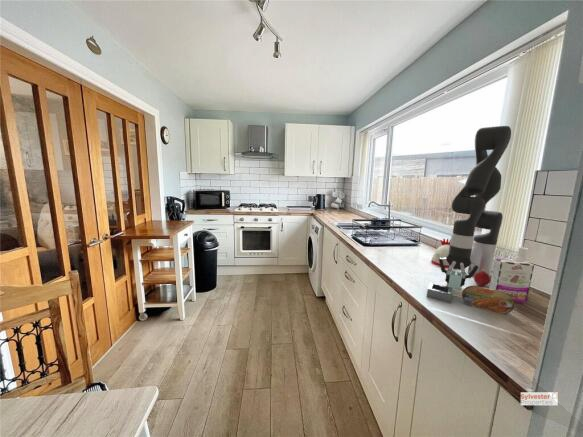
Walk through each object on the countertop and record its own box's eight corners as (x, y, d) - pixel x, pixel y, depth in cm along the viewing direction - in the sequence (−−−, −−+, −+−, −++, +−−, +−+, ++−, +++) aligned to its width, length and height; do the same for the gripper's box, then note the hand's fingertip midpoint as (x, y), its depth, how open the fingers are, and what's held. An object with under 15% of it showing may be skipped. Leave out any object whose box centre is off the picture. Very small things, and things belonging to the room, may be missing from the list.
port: (428, 290, 101) (430, 281, 101) (450, 296, 97) (452, 286, 96) (426, 297, 95) (427, 287, 94) (449, 304, 90) (451, 294, 90)
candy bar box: (517, 298, 98) (526, 260, 95) (526, 304, 93) (535, 264, 91) (486, 294, 101) (494, 257, 98) (494, 299, 96) (502, 261, 93)
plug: (447, 288, 103) (451, 268, 101) (458, 291, 100) (462, 271, 99) (447, 292, 100) (450, 271, 98) (458, 295, 97) (462, 274, 96)
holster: (443, 287, 105) (444, 281, 104) (463, 292, 101) (464, 286, 100) (442, 293, 99) (443, 286, 99) (463, 299, 95) (464, 292, 95)
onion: (491, 290, 105) (494, 273, 103) (476, 288, 106) (480, 271, 104) (483, 284, 110) (487, 268, 109) (469, 282, 111) (472, 266, 110)
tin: (460, 305, 90) (464, 285, 89) (459, 301, 93) (463, 281, 92) (512, 317, 83) (517, 295, 82) (509, 313, 86) (514, 292, 85)
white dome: (438, 258, 145) (441, 235, 143) (463, 266, 134) (468, 240, 132) (426, 262, 137) (430, 237, 135) (453, 270, 126) (457, 243, 124)
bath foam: (526, 292, 104) (536, 248, 100) (523, 296, 99) (534, 251, 96) (505, 286, 109) (514, 244, 106) (502, 290, 105) (511, 247, 101)
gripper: (482, 246, 95) (475, 286, 98) (441, 240, 104) (435, 276, 106) (483, 251, 89) (475, 293, 92) (440, 243, 97) (433, 282, 100)
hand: (454, 284), depth 99 cm, fingers closed on plug, 4 cm apart
